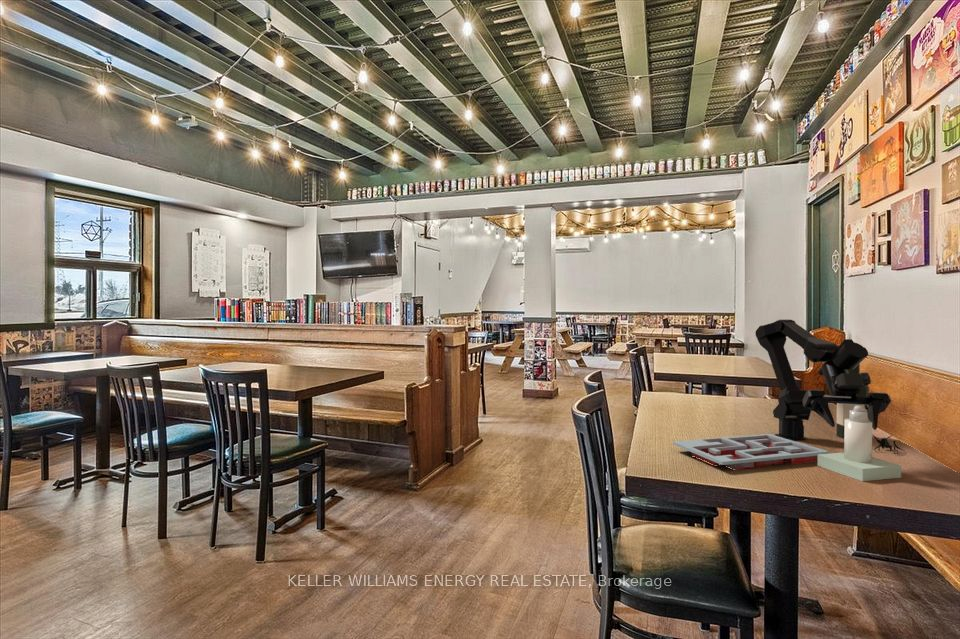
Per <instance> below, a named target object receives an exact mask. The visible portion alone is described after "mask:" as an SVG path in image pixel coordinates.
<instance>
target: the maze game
mask: <svg viewBox="0 0 960 639" xmlns="http://www.w3.org/2000/svg"><path fill="white" fill-rule="evenodd" d="M672 445H673V446H675V447H678V448H679V449H680V448H681V449H683V450H685V451H688V452H691V455H692V456H695V457H697V458H700V459H702V460H705V461H707V462H709V463H711V464H713V465H719V464H720V465H725V466H727V467H730V468H732V469H742V470H744V469H743V468H751V469H754V466H757V467H763V466H762V465H765V466H772V465H771V464H774V465H781V464H782V463H783V464H784V463H788V464H791V465H797V464H805V462H807V463H814V461H816V462H818V454H830V451H828V450H825V449H822V448H819V447H815V446H811V445H809V444H805V443H802V442H798V441H796V440H789V439H785V438H782V437H778V436H775V434H772V433H761V434H750V435H737V436H736V435H735V436H725V437H712V438H701V439H689V440H677V441H672ZM708 453H709V454H708ZM691 455H690V456H691ZM725 466H724V467H725Z"/></svg>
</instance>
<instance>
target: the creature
mask: <svg viewBox="0 0 960 639" xmlns="http://www.w3.org/2000/svg"><path fill="white" fill-rule="evenodd" d="M893 435H894V434H891V435H890V436H887V437H882V438H881V439H879V438H877V437H876V436H875V435H874V434H872V438H874V439H875V440H876V443H878V444H879V445H878V446H876V447H874V451H875V453H877V451H876V449H878V451H879V452H881V451H880V450H881V449H883V450H884V449H885V448H886V449H889V451H890V452H893V454H894V455H896V454H897V455H899V454H898V453H899V452H898V450H900V451H903V452H905V454H907V452H906V451H905V450H904V449H902V448H901V447H899V446H898V445H897V444H896V442H897V440H893V442H892V445H891V443H890V442H891V439H892V437H893ZM880 447H881V449H880ZM892 448H893V449H892Z"/></svg>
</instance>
